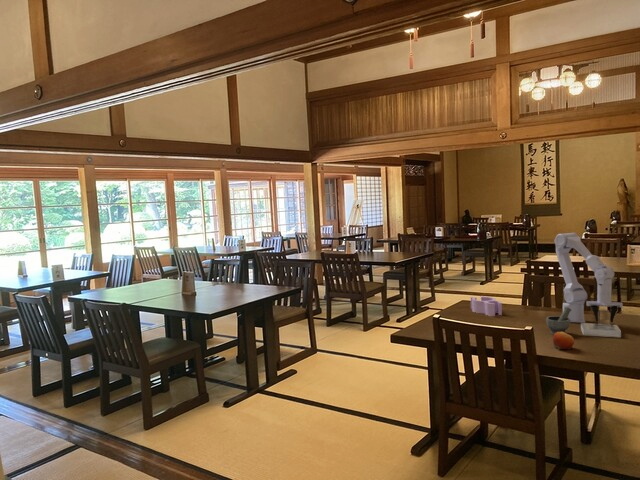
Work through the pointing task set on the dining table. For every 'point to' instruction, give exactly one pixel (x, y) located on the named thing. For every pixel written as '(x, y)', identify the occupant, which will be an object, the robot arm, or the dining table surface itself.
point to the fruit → (563, 340)
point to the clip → (486, 306)
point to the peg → (604, 317)
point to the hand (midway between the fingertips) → (604, 321)
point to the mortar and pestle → (559, 322)
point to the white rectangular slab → (600, 330)
